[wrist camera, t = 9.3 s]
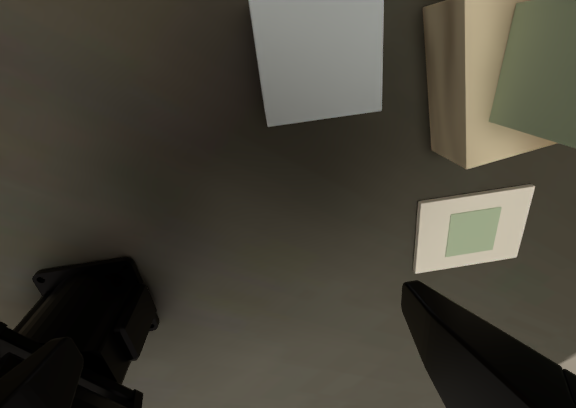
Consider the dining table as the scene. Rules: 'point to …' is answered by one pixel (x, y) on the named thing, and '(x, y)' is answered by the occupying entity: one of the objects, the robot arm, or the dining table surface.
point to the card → (470, 228)
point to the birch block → (469, 81)
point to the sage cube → (539, 72)
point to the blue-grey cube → (318, 58)
